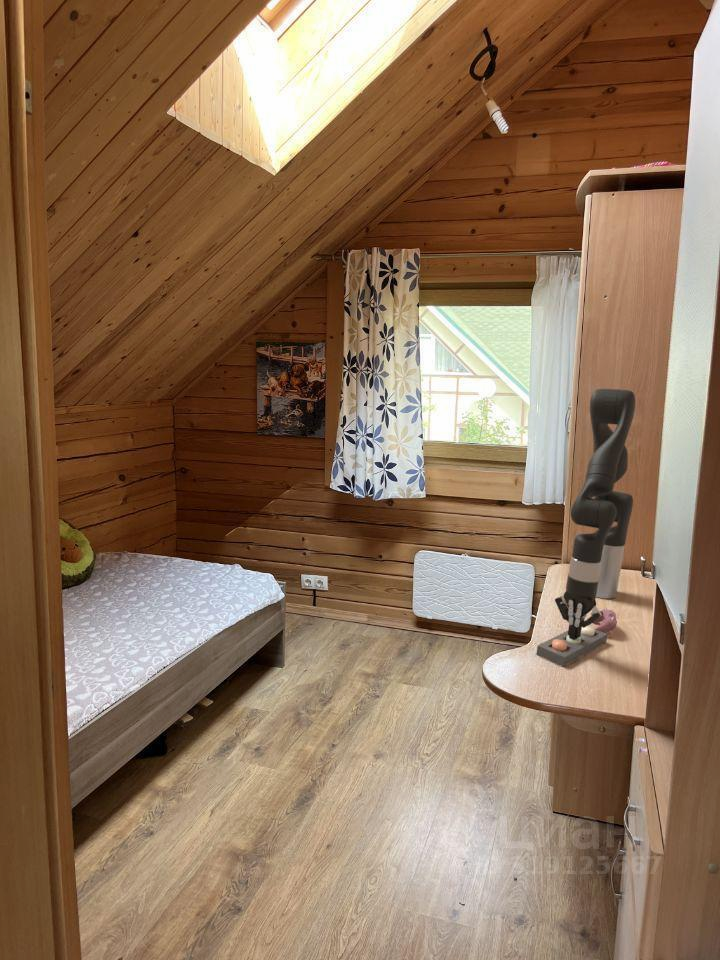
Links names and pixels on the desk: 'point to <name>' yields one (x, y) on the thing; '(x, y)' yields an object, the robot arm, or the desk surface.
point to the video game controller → (607, 621)
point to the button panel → (571, 648)
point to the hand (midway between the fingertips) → (573, 638)
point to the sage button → (574, 640)
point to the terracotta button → (559, 645)
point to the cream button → (588, 631)
